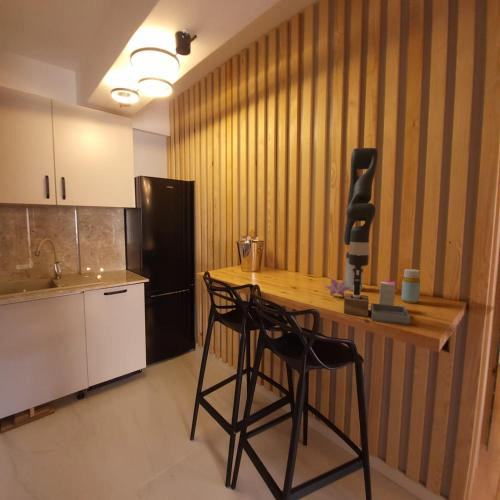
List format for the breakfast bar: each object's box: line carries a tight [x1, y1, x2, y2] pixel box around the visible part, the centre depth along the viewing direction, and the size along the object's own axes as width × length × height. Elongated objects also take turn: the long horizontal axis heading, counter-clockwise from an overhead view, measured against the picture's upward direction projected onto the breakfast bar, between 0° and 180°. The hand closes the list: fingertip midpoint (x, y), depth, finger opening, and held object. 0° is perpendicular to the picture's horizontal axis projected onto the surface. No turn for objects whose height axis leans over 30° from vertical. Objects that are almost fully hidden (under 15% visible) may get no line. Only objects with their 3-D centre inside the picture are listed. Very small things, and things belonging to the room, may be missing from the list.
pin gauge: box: [352, 285, 362, 299], centre depth 113 cm, size 3×3×12 cm
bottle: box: [400, 268, 421, 305], centre depth 127 cm, size 7×7×15 cm
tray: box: [370, 302, 411, 326], centre depth 107 cm, size 14×13×3 cm
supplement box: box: [378, 280, 397, 306], centre depth 118 cm, size 6×6×12 cm
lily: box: [324, 277, 353, 298], centre depth 133 cm, size 12×12×10 cm
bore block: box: [343, 293, 370, 317], centre depth 113 cm, size 9×9×6 cm
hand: (356, 292), depth 113 cm, fingers open, 8 cm apart
